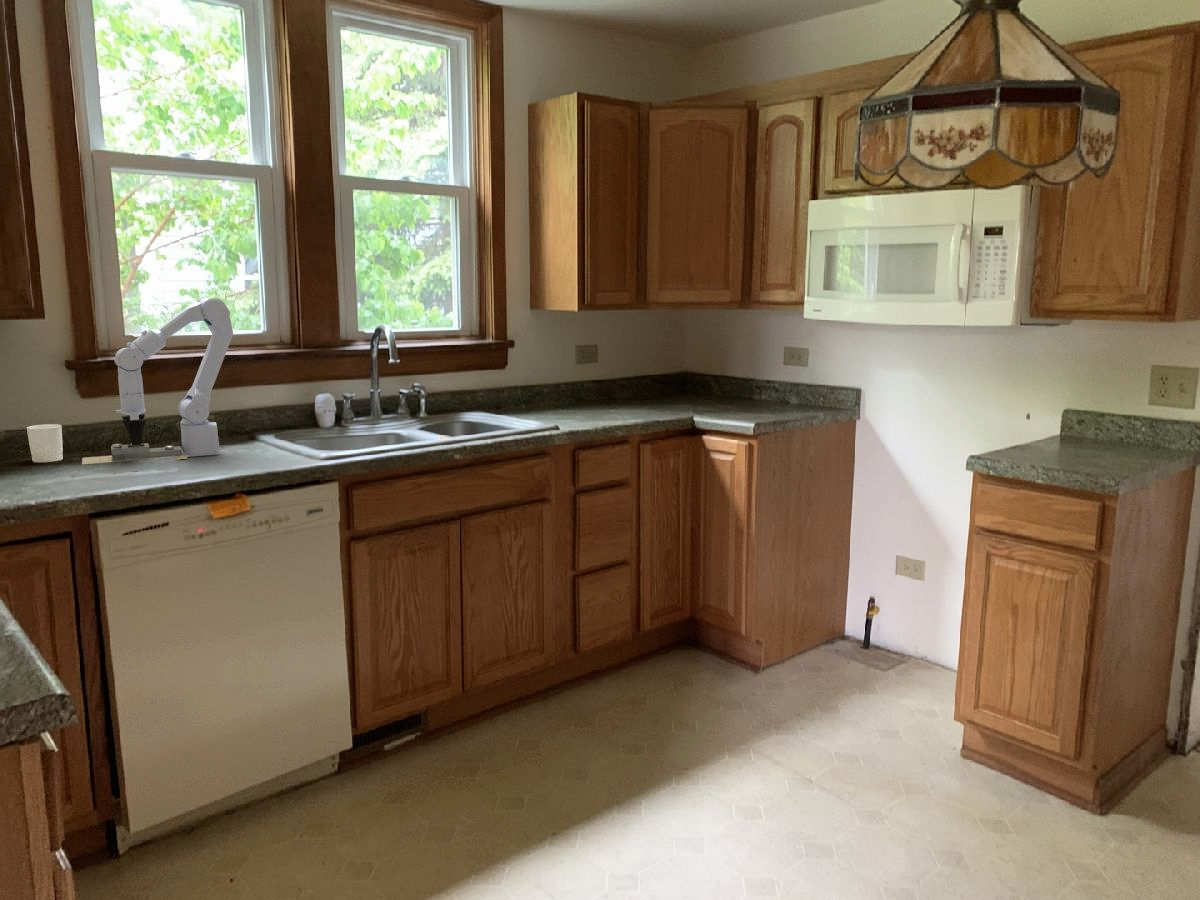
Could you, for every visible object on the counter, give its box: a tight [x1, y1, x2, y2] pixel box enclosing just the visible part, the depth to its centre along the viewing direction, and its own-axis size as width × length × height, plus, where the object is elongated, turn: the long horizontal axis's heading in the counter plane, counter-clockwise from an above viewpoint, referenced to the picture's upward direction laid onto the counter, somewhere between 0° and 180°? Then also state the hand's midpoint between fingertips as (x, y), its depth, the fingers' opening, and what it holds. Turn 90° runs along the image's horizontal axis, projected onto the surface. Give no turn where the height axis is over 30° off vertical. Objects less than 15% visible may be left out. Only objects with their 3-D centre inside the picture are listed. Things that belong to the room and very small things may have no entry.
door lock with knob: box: [81, 442, 189, 465], centre depth 245 cm, size 25×10×5 cm, turn 119°
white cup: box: [26, 423, 64, 463], centre depth 240 cm, size 8×8×10 cm
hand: (136, 443), depth 244 cm, fingers open, 7 cm apart
